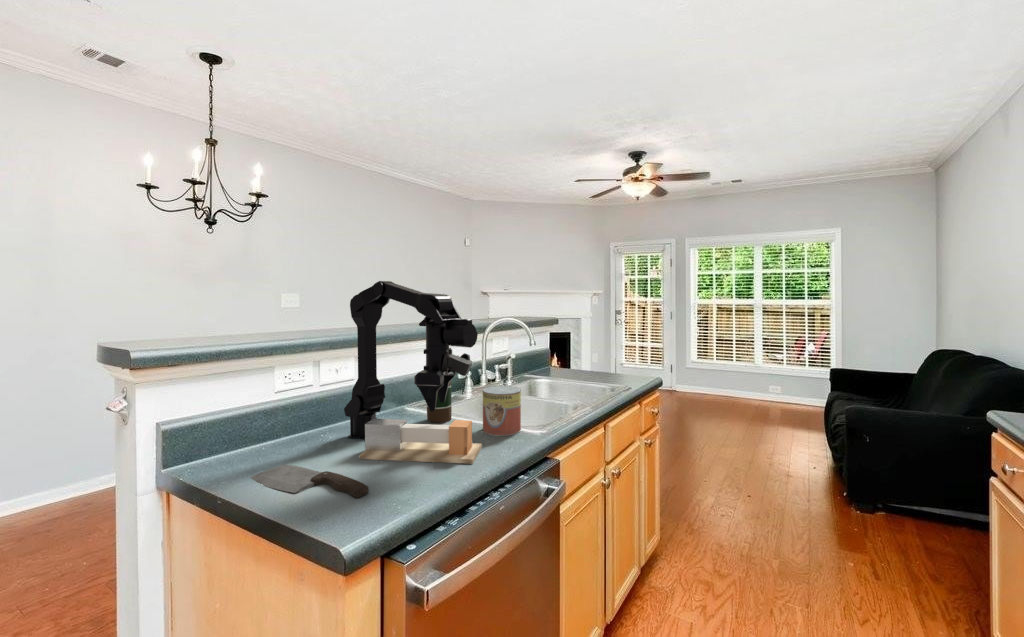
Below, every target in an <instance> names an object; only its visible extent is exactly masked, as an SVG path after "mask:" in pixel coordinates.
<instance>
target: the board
mask: <svg viewBox="0 0 1024 637" xmlns="http://www.w3.org/2000/svg"><path fill="white" fill-rule="evenodd" d="M482 448H483V443H478V442H477V443H476V442H475V443H474V442H472V448H471V450H470V451H469V453H468V454H467V455H457V454H449V444H444V443H418V442H407V446H405V447H404V448H403V449H402V450H401V451H400V452H397V451H373V450H365V449H364V450H363V452H361V453H360V454H359V460H374V461H375V460H379V461H400V462H401V461H402V462H404V461H405V462H422V463H423V462H426V463H445V464H446V463H450V464H467V465H468V464H469V465H470V464H471V465H472V464H474V463H475V460H476V459H477V457H478V455H479V453H480V451H481V450H482Z"/></svg>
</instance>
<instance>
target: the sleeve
mask: <svg viewBox="0 0 1024 637" xmlns="http://www.w3.org/2000/svg"><path fill="white" fill-rule="evenodd" d="M403 424H408V420H407V419H398V418H397V419H395V418H394V419H390V418H377V419H372V420H371V421H369V422H367V423H366V424H365V439H364V443H365V444H364V446H365V447H364V448H365V449H364V451H365V450H373V451H397V452H400V451H401V450H402V449H403V448H404V447H405V446H407V442H401V437H400V426H402V425H403Z"/></svg>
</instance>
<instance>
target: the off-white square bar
mask: <svg viewBox="0 0 1024 637" xmlns="http://www.w3.org/2000/svg"><path fill="white" fill-rule="evenodd" d="M450 425H451V424H428V423H426V424H425V423H424V424H423V423H407V424H403V425H402V426H400V437H401V442H418V443H444V444H449V426H450Z"/></svg>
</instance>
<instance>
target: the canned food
mask: <svg viewBox="0 0 1024 637" xmlns="http://www.w3.org/2000/svg"><path fill="white" fill-rule="evenodd" d="M521 402H522V389H521V388H520V387H516V386H513V385H510V386H509V385H495V386H488V387H484V388H483V389H482V432H483V433H484V434H486V435H489V436H496V437H506V436H515V435H517V434H519V433H520V432H519V431H520V430H521V431H522V426H521V425H522V424H521V423H522V418H521V417H522V410H521V409H522V408H521V407H522V406H521V405H522V403H521ZM518 432H519V433H518Z"/></svg>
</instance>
